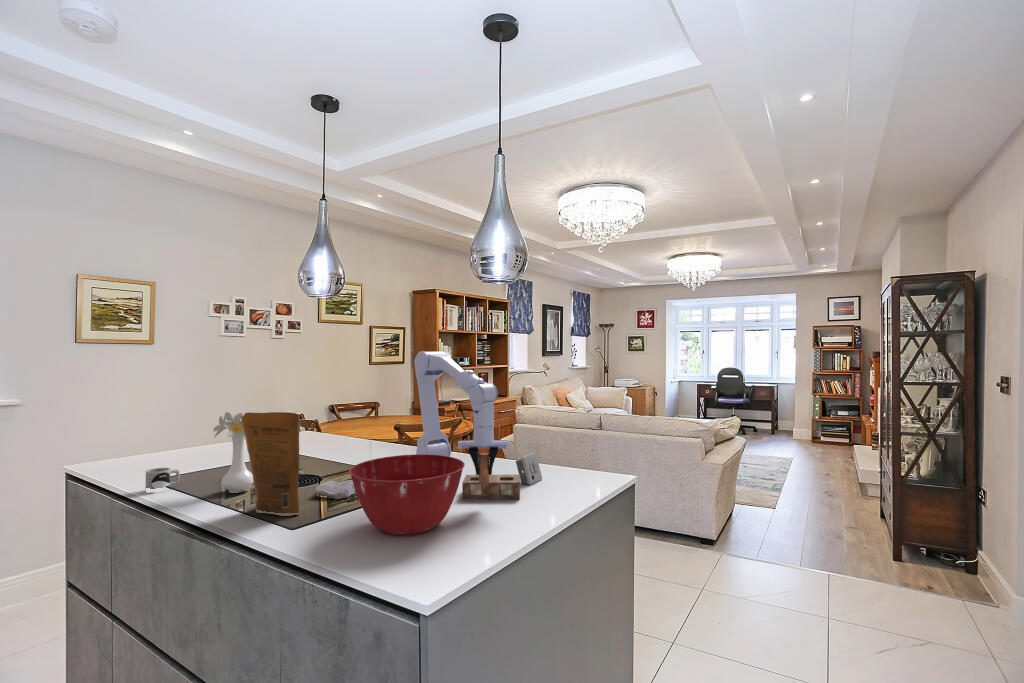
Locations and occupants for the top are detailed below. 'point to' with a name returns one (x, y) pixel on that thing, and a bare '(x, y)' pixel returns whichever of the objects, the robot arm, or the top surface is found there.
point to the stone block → (335, 489)
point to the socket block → (491, 487)
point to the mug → (160, 477)
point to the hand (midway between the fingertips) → (483, 474)
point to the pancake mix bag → (274, 459)
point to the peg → (483, 468)
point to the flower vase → (235, 454)
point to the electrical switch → (529, 469)
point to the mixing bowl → (407, 491)
